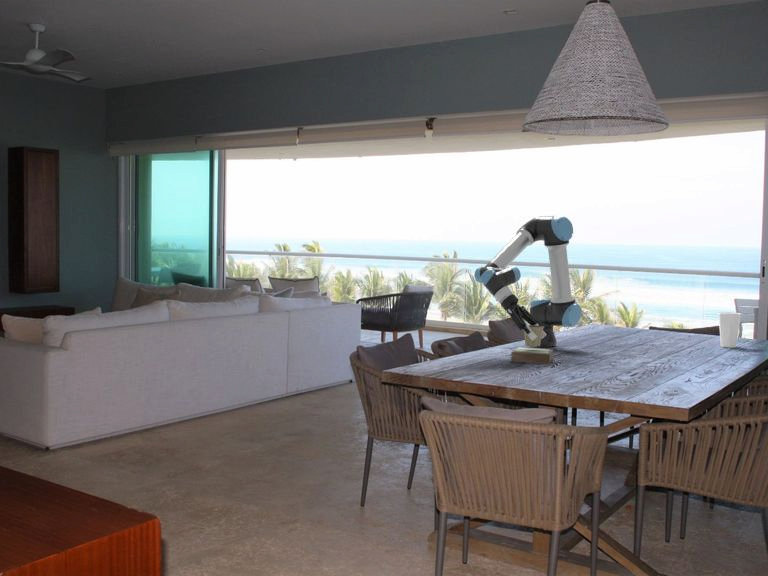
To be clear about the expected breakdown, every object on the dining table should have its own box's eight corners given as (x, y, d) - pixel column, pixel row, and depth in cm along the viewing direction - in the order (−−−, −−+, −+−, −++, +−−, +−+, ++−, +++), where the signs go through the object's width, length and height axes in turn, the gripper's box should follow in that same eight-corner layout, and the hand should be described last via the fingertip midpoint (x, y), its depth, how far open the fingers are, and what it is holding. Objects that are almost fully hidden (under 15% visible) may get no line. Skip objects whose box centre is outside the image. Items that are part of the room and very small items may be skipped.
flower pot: (517, 345, 346) (518, 325, 345) (536, 344, 349) (537, 325, 348) (528, 347, 337) (528, 327, 336) (547, 347, 340) (548, 327, 339)
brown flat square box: (516, 356, 353) (516, 347, 353) (552, 358, 348) (553, 348, 348) (511, 361, 338) (511, 351, 337) (549, 363, 333) (549, 353, 333)
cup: (712, 346, 401) (714, 312, 400) (722, 344, 408) (723, 311, 407) (735, 348, 392) (736, 314, 392) (743, 347, 399) (745, 313, 398)
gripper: (511, 303, 359) (543, 341, 351) (489, 306, 341) (523, 345, 333) (522, 292, 356) (555, 330, 348) (501, 294, 338) (535, 334, 330)
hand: (539, 337), depth 341 cm, fingers closed on flower pot, 9 cm apart
